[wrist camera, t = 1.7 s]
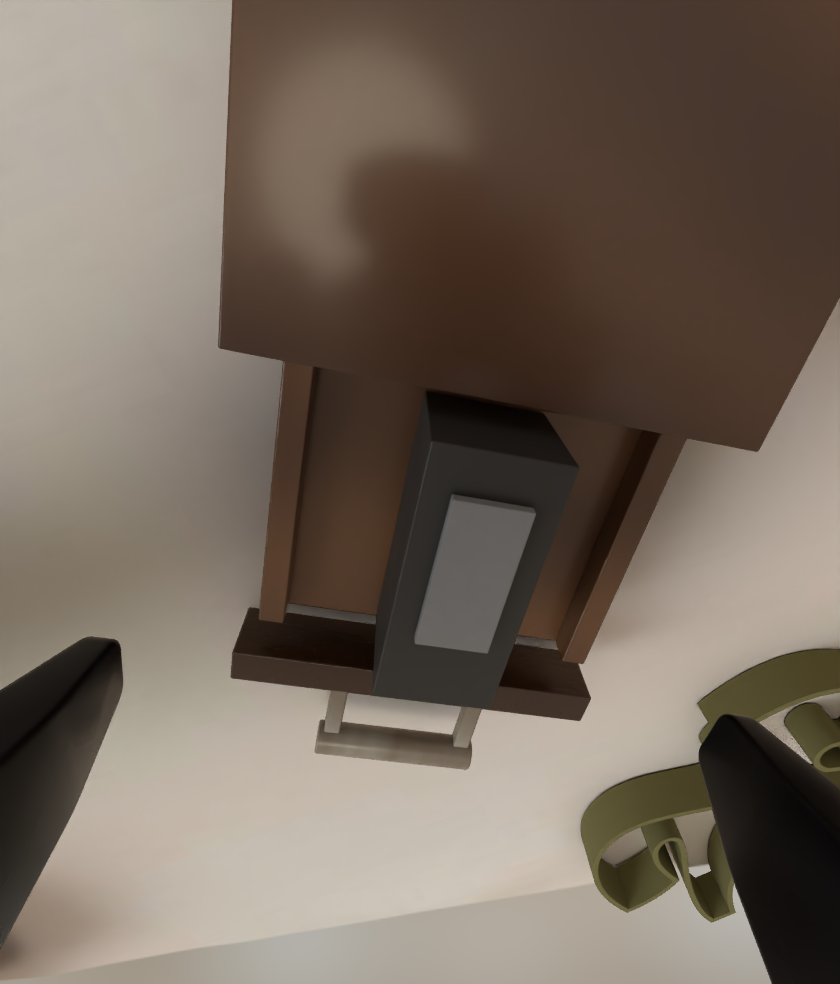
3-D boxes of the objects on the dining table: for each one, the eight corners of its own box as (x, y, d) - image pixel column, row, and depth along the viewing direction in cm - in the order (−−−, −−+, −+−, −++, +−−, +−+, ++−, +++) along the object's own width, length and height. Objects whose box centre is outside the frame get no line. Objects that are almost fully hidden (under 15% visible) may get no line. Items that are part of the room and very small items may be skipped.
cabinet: (686, 401, 18) (758, 452, 14) (257, 314, 16) (217, 349, 13) (986, -275, 11) (1257, -490, 8) (318, -533, 10) (270, -960, 6)
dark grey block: (475, 626, 20) (491, 719, 16) (376, 612, 19) (370, 704, 16) (544, 413, 16) (584, 473, 13) (424, 390, 16) (431, 445, 12)
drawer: (533, 742, 24) (546, 793, 22) (240, 708, 23) (224, 759, 21) (713, 335, 16) (758, 356, 14) (279, 240, 15) (259, 248, 13)
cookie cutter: (1021, 770, 24) (979, 731, 26) (888, 634, 20) (849, 599, 22) (683, 941, 30) (667, 900, 32) (530, 862, 26) (521, 820, 28)
